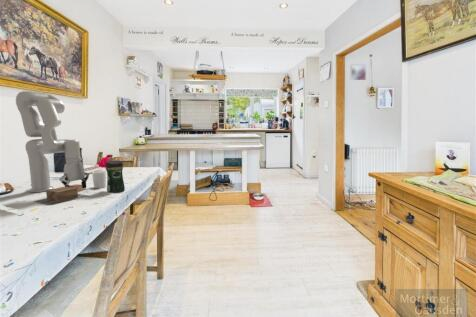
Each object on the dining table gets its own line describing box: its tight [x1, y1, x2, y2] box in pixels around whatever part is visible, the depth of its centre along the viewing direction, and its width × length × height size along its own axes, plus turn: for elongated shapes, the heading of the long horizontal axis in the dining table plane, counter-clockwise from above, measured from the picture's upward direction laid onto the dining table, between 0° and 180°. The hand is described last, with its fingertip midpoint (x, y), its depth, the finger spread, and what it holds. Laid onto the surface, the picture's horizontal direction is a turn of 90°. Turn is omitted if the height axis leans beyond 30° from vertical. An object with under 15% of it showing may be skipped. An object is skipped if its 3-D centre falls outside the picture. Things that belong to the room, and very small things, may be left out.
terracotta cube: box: [69, 183, 83, 193], centre depth 162 cm, size 5×5×5 cm
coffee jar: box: [105, 160, 125, 194], centre depth 166 cm, size 10×8×19 cm
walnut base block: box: [45, 186, 79, 202], centre depth 145 cm, size 10×10×5 cm
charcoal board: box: [33, 193, 89, 206], centre depth 145 cm, size 16×20×2 cm
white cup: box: [91, 170, 107, 189], centre depth 179 cm, size 8×8×10 cm
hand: (76, 190), depth 162 cm, fingers open, 9 cm apart
